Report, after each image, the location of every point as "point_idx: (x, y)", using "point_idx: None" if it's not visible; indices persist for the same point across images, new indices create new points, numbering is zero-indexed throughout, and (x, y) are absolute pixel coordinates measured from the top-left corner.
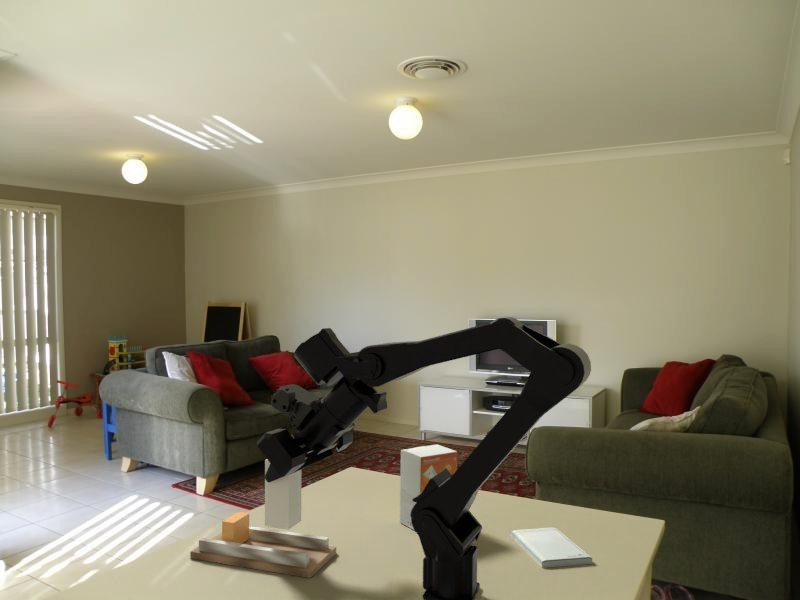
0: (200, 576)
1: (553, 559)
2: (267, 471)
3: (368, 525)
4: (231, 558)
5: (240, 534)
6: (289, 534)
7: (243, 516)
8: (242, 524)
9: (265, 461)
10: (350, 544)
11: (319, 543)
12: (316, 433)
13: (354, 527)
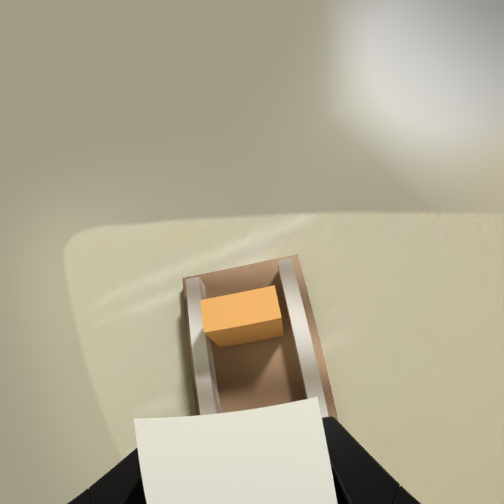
0: (137, 352)
1: None
2: (136, 451)
3: (501, 448)
4: (191, 369)
5: (243, 337)
6: None
7: (254, 321)
8: (248, 330)
9: (137, 423)
10: None
11: None
12: None
13: (483, 438)
